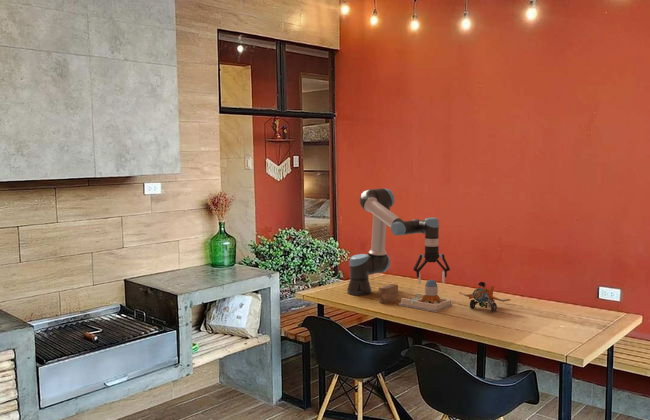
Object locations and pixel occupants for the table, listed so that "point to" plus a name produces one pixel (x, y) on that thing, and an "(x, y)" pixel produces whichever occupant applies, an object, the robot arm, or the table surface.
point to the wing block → (388, 293)
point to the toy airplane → (483, 297)
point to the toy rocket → (431, 292)
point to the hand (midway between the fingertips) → (431, 283)
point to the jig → (425, 303)
